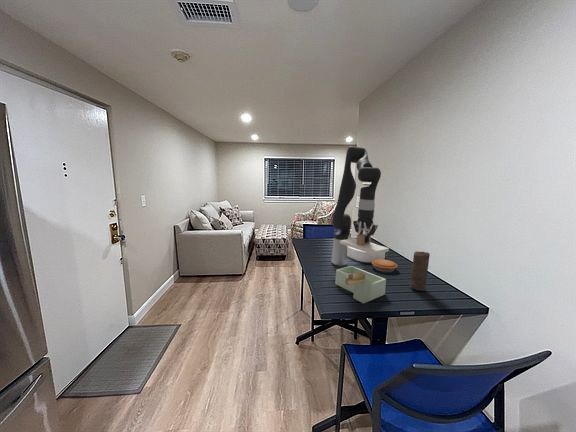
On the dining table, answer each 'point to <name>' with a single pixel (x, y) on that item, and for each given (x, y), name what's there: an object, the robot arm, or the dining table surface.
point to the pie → (384, 265)
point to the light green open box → (361, 284)
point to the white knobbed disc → (363, 255)
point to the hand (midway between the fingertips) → (363, 242)
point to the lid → (364, 245)
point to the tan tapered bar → (354, 278)
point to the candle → (419, 270)
